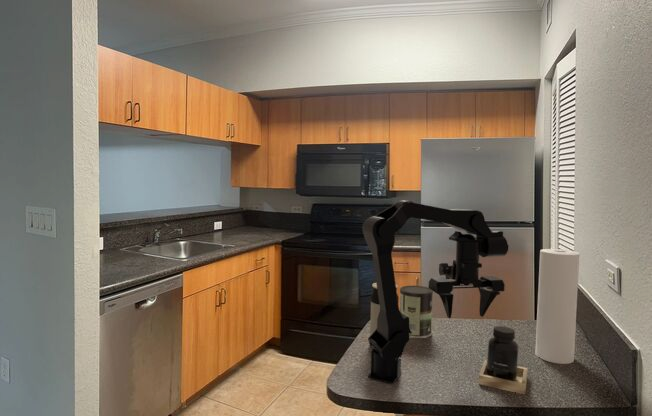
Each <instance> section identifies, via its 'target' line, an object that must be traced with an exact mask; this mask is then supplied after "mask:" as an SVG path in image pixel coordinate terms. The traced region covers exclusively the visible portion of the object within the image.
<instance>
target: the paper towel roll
mask: <svg viewBox="0 0 652 416" xmlns="http://www.w3.org/2000/svg"><path fill="white" fill-rule="evenodd" d="M579 268H580V252H578V251H574V250H569V249H560V248H544V249H540V251H539V267H538V269H539V271H538V287H537V288H538V289H537V290H538V291H537V310H536V311H537V313H536V330H535V331H536V332H535V350H534V351H535V353H534V355H535V356H536V357H538V358H539V357H540V358H539V359H541V360H543V361H546V362H550V363H553V364H558V365H559V364H561V365H568V364H571V363H574V361H575V346H576V345H575V342H576V329H577V328H576V324H577V309H578V308H577V307H578V306H577V305H578V289H579V288H578V287H579V272H580V270H579Z"/></svg>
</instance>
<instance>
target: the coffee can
mask: <svg viewBox="0 0 652 416" xmlns="http://www.w3.org/2000/svg"><path fill="white" fill-rule="evenodd" d="M433 295H434V291H433V290H431V289H429V287H427V286H423V285H422V286H421V285H405V286H402V287H399V310H400V312H402V313H403V314H405V315H406V316H408V317H409V327H410V331H411V332H412V333H411V334H410V333H409V339H428V338H429V337H431V336H432V335H433V334H432V323H433V322H432V321H433V319H432V317H433Z"/></svg>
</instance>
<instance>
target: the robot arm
mask: <svg viewBox="0 0 652 416" xmlns="http://www.w3.org/2000/svg"><path fill="white" fill-rule="evenodd" d="M411 218H415V219H419V220H420V219H421V220H424V221H425V220H426V221H431V222H435V223H436V222H437V223H442V224H445V225H446V226H448V227H451V228H453V229H455V231H454V233H452V234H451V235H449V237H448V240H450V241H453V242H456V243H455V245H456V247H455V248H456V249H455V259H453V261H452V265H449V263H447V262H445V263H444V262H443V263H442V262H441V263H438V265H439V266H438V272H439V273H438V274H439V276H445V277H431V278H430V279H429V281H428V288H429V289H431V290H433V293H435V294H437V295H439V298H440V299H441V302H442V305H443V308H444V311H445V314H446V317H447V319H451V317H452V313H453V304H454V294H453V293H452V292H453V291H454V289H456V290H457V289H476V288H478V292H479V295H480V296H479V309H478V310H479V316H480V317H482V318H483V317H484V316H485V314H486V313H487V311H488V309H489V308H490V306H491V304H492V303H493V302H494V300H495V299H496V297H497V296H498V295H499V296H500V295H501V292H505V290H506V284H505V282H504V280H503V279H500V277H496V276H493V275H486V276H480V278H479V273H480V272H479V271H480V269H482V267H483V264H482V263H481V262H480V257H482V258H492V257H493V258H495V257H497V258H499V257H505V256H506V255H507V253H508V251H509V244H508V241H507V239H506V237H505V236H504V231H502V230H493V231H492V230H491V228H490V227H489V225H488V223H487V221H486V219H485V216H484V214H483V212H482V211H480V210H476V209H467V208H449V209H447V208H441V207H438V206H432V205H427V204H423V203H422V204H421V203H417V202H413V201H411V200H404V199H403V200H402V199H400V200H397V202H395V203H394V204H393V205H391V206H390V207H388V208H386V209H384V210H382V211H380V212H379V213H378V214H376V215H373V216H370V217H367V218H366V219H365V220H364V222H363V223H362V226H361V229H362V234H363V237H364V240H365V243H366V245H367V247H368V249H369V250H370V253H371V255H372V260H373V266H374V267H373V269H374V274H375V275H374V276H375V281H376V282H375V283H377V290H378V297H379V304H380V312H379V315H378V318H377V329H376V330H375V331H374V332H373V333H372V334H371V336H370V335H369V337H368V338H367V341H368V344H369V346H370V347H371V348H372V349H371V350H370V372H369V373H368V375H367V378H369V379H372V380H376V381H380V382H383V383H386V384H387V383H388V384H394V383H395V382H396V380H397V379H398V378H399V377H400V376H401V374H402V371H401V369H402V359H401V358H402V356H403V353H404V350H405V348H406V345H407V344H408V343H409V342H410V337H409V333H410V334H411V333H412V332H411V331H410V327H409V317H408V316H406V315H405V314H403V313H402V312H400V304H399V302H398V298H397V295H398V293H397V290H396V285H397V284H396V276H395V269H394V263H393V254H392V253H393V250H394V246H395V244H396V243H395V242H396V233H397V232H398V231H400V230H401V229H402V228H403V227H404V225H405V224H406V222H407V221H408V220H409V219H411ZM456 230H457V231H456ZM461 231H462V232H465V233H462V232H461ZM474 235H475V236H474Z"/></svg>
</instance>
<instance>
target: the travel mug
mask: <svg viewBox="0 0 652 416" xmlns="http://www.w3.org/2000/svg"><path fill="white" fill-rule="evenodd" d="M371 286H372V293H371V294H370V320H369V321H370V324H369V326H370V329H369V331H370V332H369V333H370V334H369V337H370V336H371V334H372V333H373V332H374V331H375V330H376V329H377V318H378V315H379V312H380V304H379V297H378V290H377V283H376V282H373V283H372V285H371ZM398 287H399V285H398V284H396V290H397V289H398ZM397 298H398V303H400V296H399V294H397Z"/></svg>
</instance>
